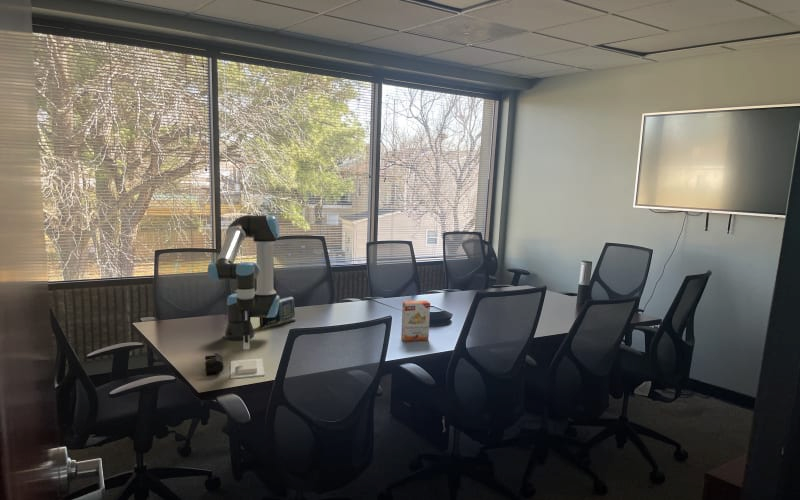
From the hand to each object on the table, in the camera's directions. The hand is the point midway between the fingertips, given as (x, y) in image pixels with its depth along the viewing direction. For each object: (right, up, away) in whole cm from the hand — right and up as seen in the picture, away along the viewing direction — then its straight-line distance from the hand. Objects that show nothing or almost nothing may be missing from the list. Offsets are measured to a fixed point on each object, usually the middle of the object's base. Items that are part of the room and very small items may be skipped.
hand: (246, 348), depth 227 cm
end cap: (-13, -9, -4) cm, 16 cm away
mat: (0, -9, -1) cm, 9 cm away
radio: (-2, +1, +67) cm, 67 cm away
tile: (+1, -8, -3) cm, 8 cm away
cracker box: (+77, -4, +46) cm, 89 cm away
